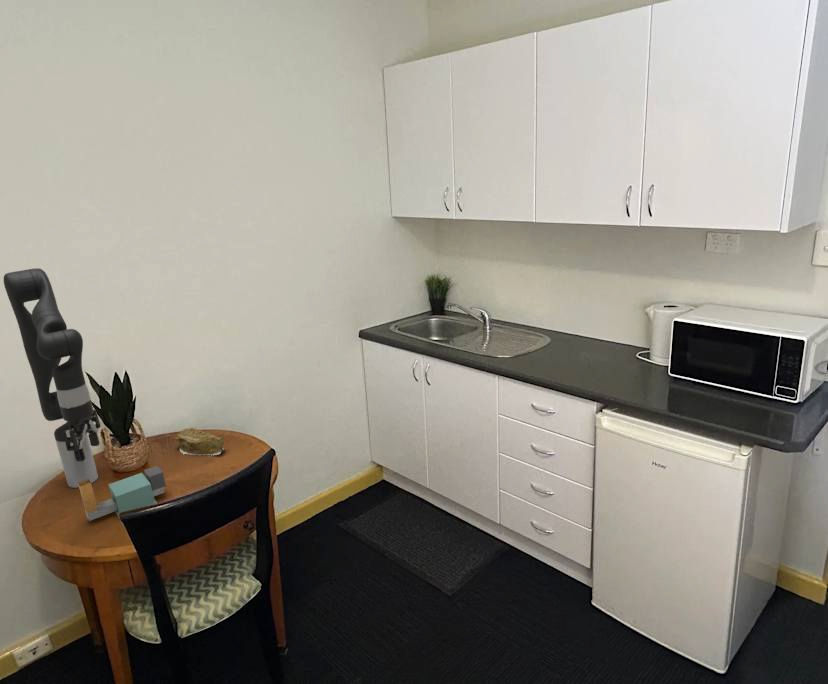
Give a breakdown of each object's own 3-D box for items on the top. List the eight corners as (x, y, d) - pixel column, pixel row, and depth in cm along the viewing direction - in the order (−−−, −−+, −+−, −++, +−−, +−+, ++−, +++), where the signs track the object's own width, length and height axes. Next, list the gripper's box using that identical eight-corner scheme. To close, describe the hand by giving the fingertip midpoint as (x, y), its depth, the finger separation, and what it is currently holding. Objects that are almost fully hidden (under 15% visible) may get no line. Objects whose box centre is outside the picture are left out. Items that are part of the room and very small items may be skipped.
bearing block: (111, 505, 184) (106, 484, 181) (147, 491, 190) (143, 471, 188) (120, 519, 175) (114, 498, 173) (157, 505, 182) (153, 484, 180)
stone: (233, 448, 217) (231, 432, 215) (214, 461, 208) (211, 444, 206) (190, 440, 226) (187, 424, 224) (170, 452, 217) (167, 436, 215)
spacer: (147, 483, 187) (144, 470, 186) (160, 479, 189) (157, 465, 188) (152, 490, 182) (149, 476, 181) (165, 486, 185) (162, 472, 183)
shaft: (86, 515, 176) (77, 482, 173) (161, 487, 189) (154, 456, 186) (89, 521, 173) (80, 487, 170) (164, 492, 186) (157, 460, 183)
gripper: (74, 391, 167) (87, 441, 172) (46, 412, 153) (61, 466, 158) (100, 389, 167) (112, 440, 172) (75, 411, 153) (89, 464, 159)
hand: (88, 452), depth 165 cm, fingers open, 8 cm apart
